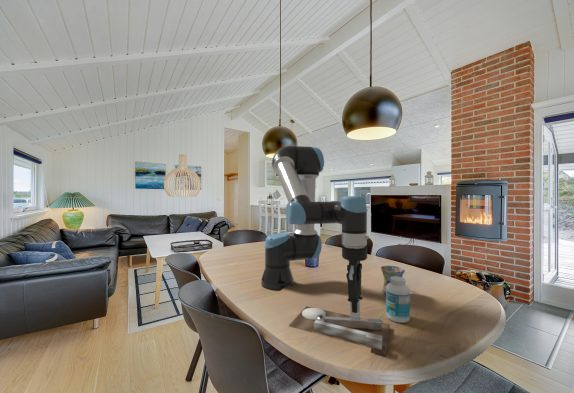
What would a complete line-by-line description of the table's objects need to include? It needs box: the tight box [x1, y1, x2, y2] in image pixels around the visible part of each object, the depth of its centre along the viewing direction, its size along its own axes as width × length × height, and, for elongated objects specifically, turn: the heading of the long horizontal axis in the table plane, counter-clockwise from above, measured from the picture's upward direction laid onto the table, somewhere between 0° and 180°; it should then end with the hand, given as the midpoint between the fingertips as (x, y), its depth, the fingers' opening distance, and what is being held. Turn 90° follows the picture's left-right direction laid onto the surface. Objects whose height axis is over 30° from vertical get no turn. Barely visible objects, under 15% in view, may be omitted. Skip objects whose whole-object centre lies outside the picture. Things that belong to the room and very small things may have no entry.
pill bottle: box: [385, 276, 411, 324], centre depth 82 cm, size 8×7×14 cm
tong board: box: [288, 305, 391, 357], centre depth 75 cm, size 28×15×4 cm, turn 63°
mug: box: [380, 265, 405, 295], centre depth 104 cm, size 12×9×11 cm
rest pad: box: [301, 307, 326, 320], centre depth 82 cm, size 8×8×1 cm
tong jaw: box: [317, 315, 383, 330], centre depth 74 cm, size 19×3×3 cm, turn 83°
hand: (355, 321), depth 76 cm, fingers closed
